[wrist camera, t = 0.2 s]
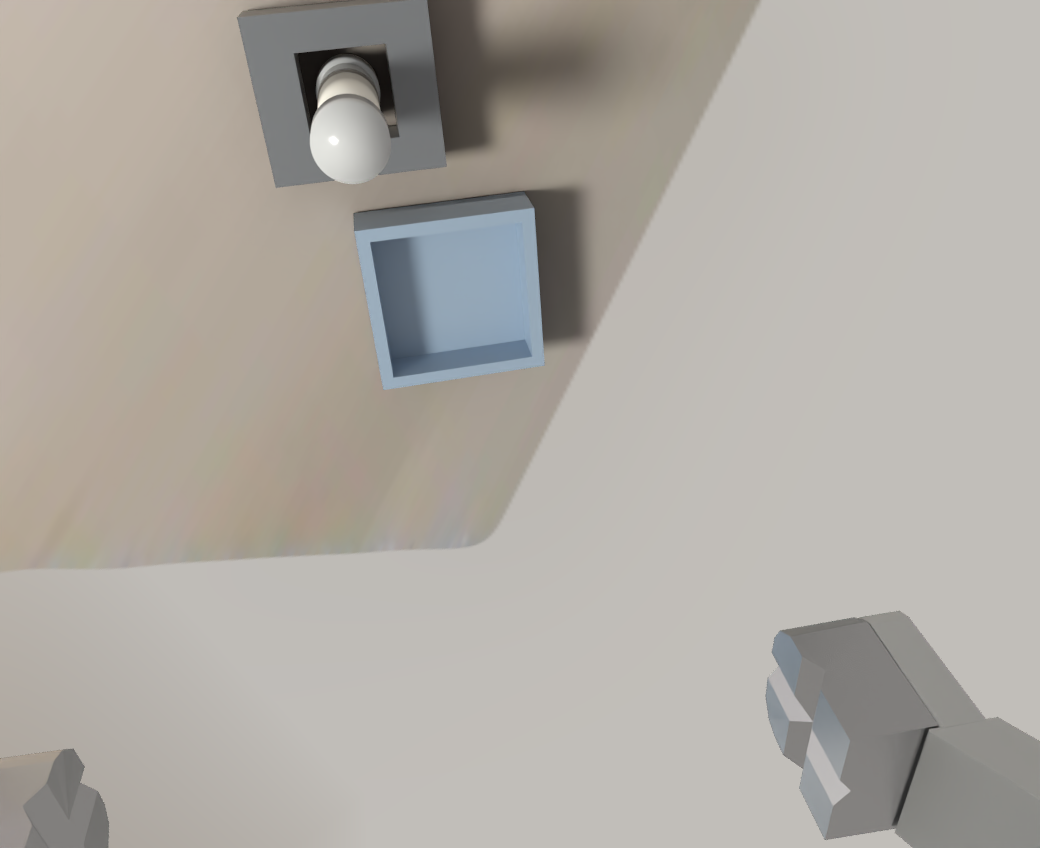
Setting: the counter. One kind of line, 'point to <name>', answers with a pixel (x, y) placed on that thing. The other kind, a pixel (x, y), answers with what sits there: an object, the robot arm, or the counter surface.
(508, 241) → the parts tray
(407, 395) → the counter surface
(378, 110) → the fuse
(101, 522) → the counter surface
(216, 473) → the counter surface
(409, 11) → the block
